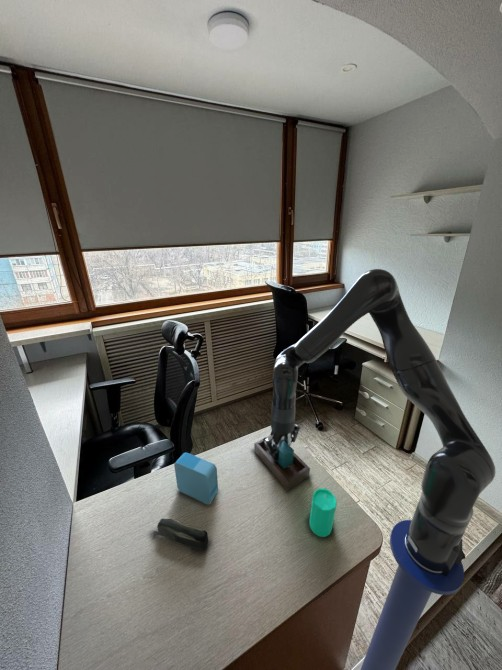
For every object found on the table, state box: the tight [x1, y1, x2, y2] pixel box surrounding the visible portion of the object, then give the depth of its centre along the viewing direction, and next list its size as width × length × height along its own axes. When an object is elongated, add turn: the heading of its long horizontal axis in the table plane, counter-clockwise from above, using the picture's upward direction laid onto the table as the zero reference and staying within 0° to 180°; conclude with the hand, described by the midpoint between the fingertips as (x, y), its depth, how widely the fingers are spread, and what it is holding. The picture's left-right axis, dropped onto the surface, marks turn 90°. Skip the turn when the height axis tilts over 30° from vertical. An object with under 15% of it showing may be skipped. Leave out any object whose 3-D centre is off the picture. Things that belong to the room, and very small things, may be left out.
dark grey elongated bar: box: [152, 518, 209, 551], centre depth 69 cm, size 5×3×15 cm
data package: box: [173, 452, 219, 505], centre depth 80 cm, size 12×4×12 cm, turn 65°
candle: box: [309, 487, 337, 538], centre depth 71 cm, size 6×6×12 cm
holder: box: [253, 435, 311, 491], centre depth 91 cm, size 18×9×4 cm, turn 33°
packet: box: [269, 441, 295, 469], centre depth 90 cm, size 4×8×6 cm, turn 33°
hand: (280, 455), depth 90 cm, fingers closed on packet, 4 cm apart
